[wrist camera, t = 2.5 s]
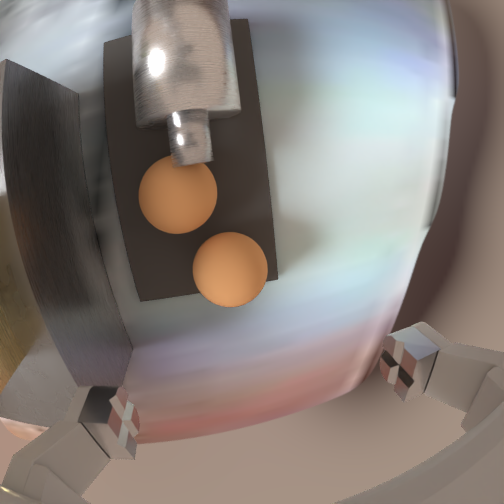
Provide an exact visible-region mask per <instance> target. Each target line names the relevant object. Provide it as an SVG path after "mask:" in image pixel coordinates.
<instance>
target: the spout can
mask: <svg viewBox="0 0 504 504" xmlns="http://www.w3.org/2000/svg"><path fill="white" fill-rule="evenodd" d="M132 69H133V90H134V104H135V116H136V126H137V128H139V129H143V130H159V129H168V135H169V143H170V151H171V159H172V166H173V168H175V167H181V166H187V165H193V164H200V163H206V162H212V161H214V158H213V150H212V142H211V134H210V125H209V122H214V121H218V120H222V119H226V118H229V117H232V116H235V115H237V114H239V113H240V112H241V104H240V95H239V87H238V79H237V71H236V63H235V55H234V47H233V40H232V32H231V24H230V16H229V9H228V1H227V0H136V1H135V3H134V5H133V10H132Z"/></svg>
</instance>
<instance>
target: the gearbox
mask: <svg viewBox="0 0 504 504" xmlns="http://www.w3.org/2000/svg"><path fill="white" fill-rule="evenodd" d="M132 350H133V348H132V346H131V343H130V341H129V338H128V336H127V333H126V330H125V328H124V325H123V322H122V320H121V317H120V314H119V311H118V308H117V305H116V302H115V299H114V296H113V293H112V290H111V287H110V284H109V280H108V277H107V273H106V270H105V266H104V263H103V259H102V255H101V252H100V248H99V244H98V239H97V235H96V231H95V226H94V222H93V217H92V212H91V207H90V202H89V196H88V190H87V184H86V178H85V171H84V163H83V155H82V146H81V135H80V122H79V101H78V93H76V92H74V91H72V90H70V89H68V88H66V87H64V86H62V85H60V84H58V83H56V82H54V81H52V80H50V79H48V78H46V77H44V76H42V75H40V74H38V73H36V72H34V71H32V70H30V69H28V68H25V67H23V66H21V65H19V64H17V63H15V62H12V61H10V60H8V59H5V60H4V61H2V62H1V63H0V417H3V418H7V419H11V420H15V421H19V422H24V423H28V424H33V425H39V426H44V427H51V426H53V425H54V424H55V423H57V422H58V421H63V420H64V417H65V415H66V412H67V410H68V408H69V406H70V403H71V401H72V399H73V397H74V394H75V392H76V390H77V388H78V387H80V386H121V387H122V384H123V380H124V377H125V373H126V370H127V367H128V363H129V360H130V357H131V353H132Z"/></svg>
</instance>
